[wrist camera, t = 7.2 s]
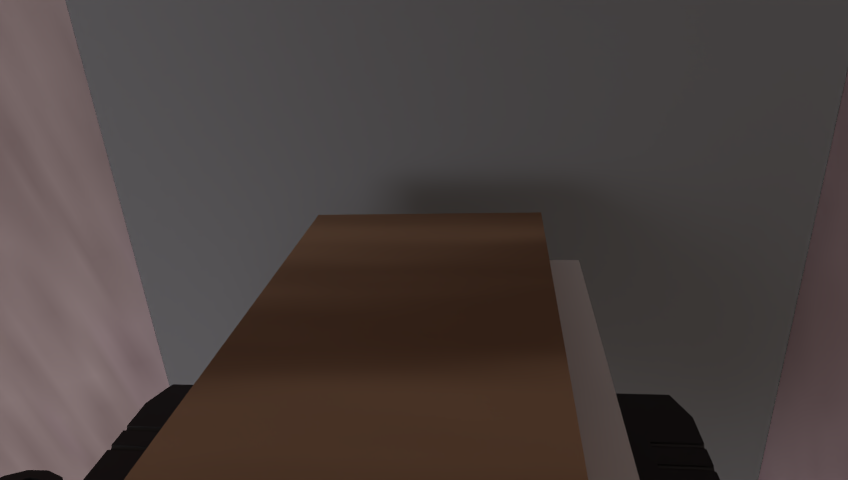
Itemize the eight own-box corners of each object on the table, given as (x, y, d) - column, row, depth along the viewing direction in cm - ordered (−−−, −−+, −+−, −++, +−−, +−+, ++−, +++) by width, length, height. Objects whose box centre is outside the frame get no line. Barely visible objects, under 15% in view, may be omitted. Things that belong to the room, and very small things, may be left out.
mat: (60, -120, 15) (31, -125, 14) (876, -188, 12) (906, -200, 12) (218, 501, 23) (206, 523, 22) (731, 527, 20) (741, 554, 20)
